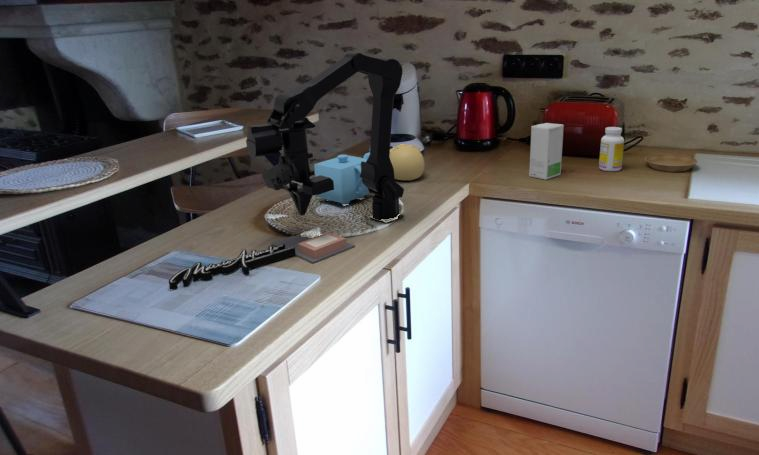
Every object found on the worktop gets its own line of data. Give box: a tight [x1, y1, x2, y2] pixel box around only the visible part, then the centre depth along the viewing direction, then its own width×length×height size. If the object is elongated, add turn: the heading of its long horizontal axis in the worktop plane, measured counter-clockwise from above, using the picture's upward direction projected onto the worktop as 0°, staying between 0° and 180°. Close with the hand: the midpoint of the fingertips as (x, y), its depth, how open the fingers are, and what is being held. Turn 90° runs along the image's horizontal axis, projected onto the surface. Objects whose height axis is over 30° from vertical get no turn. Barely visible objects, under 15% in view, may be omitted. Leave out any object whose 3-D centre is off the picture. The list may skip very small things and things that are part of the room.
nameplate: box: [168, 244, 296, 290], centre depth 124 cm, size 28×2×10 cm
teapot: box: [313, 151, 371, 205], centre depth 165 cm, size 18×16×13 cm
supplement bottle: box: [598, 126, 625, 172], centre depth 179 cm, size 7×7×13 cm
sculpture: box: [390, 143, 425, 181], centre depth 181 cm, size 12×12×11 cm
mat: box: [270, 235, 356, 264], centre depth 135 cm, size 12×16×1 cm
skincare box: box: [528, 122, 565, 181], centre depth 175 cm, size 8×7×16 cm
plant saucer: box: [644, 153, 698, 173], centre depth 180 cm, size 15×15×3 cm
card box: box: [298, 231, 347, 259], centre depth 131 cm, size 9×2×6 cm
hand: (302, 214), depth 136 cm, fingers closed
